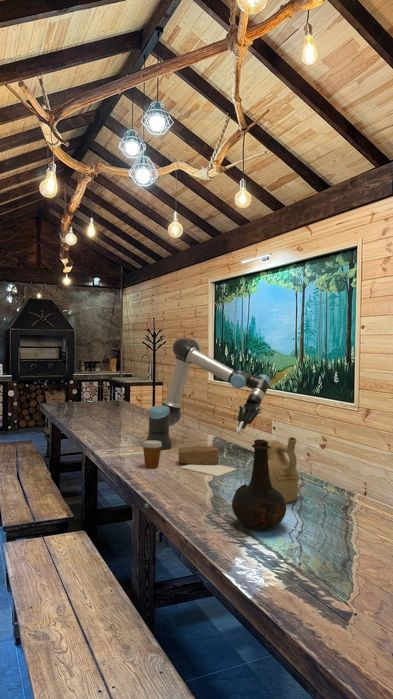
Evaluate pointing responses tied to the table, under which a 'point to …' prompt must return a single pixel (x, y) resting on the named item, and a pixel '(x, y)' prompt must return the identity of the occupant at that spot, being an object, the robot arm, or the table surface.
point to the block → (199, 455)
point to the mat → (210, 469)
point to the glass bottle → (259, 495)
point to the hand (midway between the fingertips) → (238, 432)
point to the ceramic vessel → (283, 469)
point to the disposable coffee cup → (152, 453)
